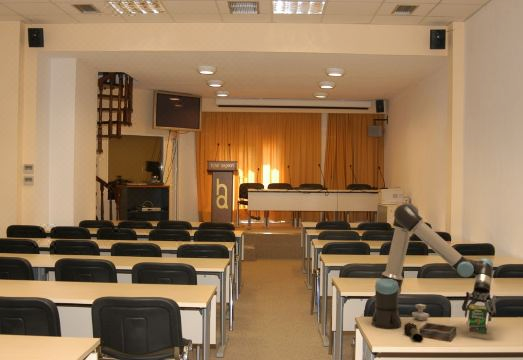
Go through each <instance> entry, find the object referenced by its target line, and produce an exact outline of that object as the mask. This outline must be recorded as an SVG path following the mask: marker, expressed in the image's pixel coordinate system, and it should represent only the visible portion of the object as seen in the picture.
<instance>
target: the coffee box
mask: <svg viewBox="0 0 523 360" xmlns="http://www.w3.org/2000/svg"><path fill="white" fill-rule="evenodd" d="M487 313H488V310H487V306H486V305H479V304H478V305H477V304H474V305H471V304H470V305H469V323H468V327H469V328H468V329H469V330H468V332H469V333H474V334H475V333H476V334H481V335H487V334H488V328H486V317H487Z"/></svg>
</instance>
